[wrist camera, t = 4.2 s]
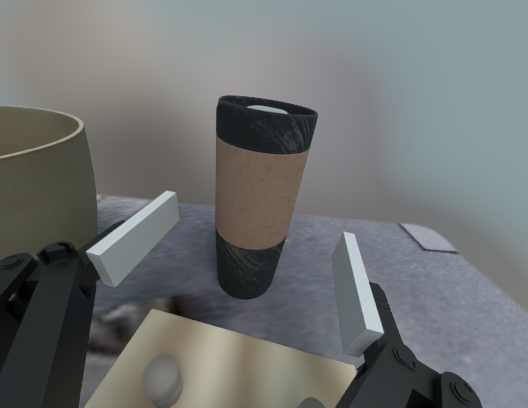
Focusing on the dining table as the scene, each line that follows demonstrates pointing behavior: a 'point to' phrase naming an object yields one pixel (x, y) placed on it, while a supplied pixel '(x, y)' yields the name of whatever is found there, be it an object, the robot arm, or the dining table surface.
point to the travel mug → (256, 186)
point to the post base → (216, 370)
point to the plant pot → (44, 181)
